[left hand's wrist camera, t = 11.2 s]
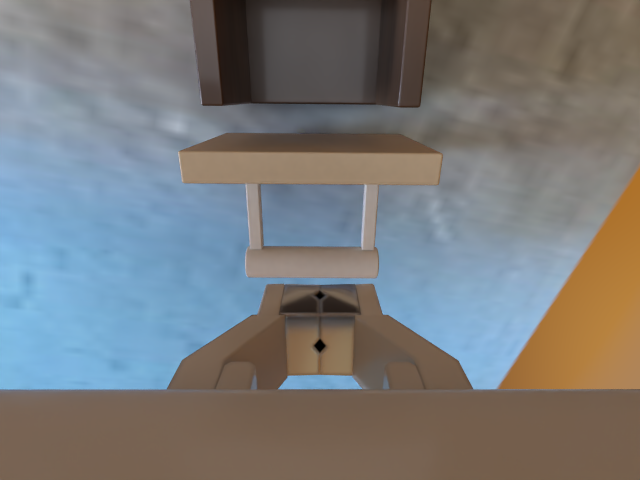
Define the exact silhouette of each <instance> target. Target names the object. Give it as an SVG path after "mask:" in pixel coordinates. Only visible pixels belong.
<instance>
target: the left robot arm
mask: <svg viewBox="0 0 640 480" xmlns="http://www.w3.org/2000/svg"><path fill="white" fill-rule="evenodd" d="M290 375H350V376H353V378H354V379H355V381H356V382H357V383H358V384H359V385H360V387H361V388H362V389H278V388H279V387H280V386H281V384H282V383H283V382H284V381H285V380H286V378H287V376H290ZM0 480H640V389H473V388H472V386H471V384H470V382H469V380H468V378H467V376H466V374H465V372H464V371H463V369H462V367H461V365H460V363H459V361H458V360H457V359H455V358H453V357H452V356H450V355H449V354H447V353H446V352H444V351H443V350H441V349H440V348H438V347H437V346H435V345H433V344H432V343H430V342H429V341H427V340H426V339H424V338H423V337H421V336H420V335H418V334H417V333H415V332H413V331H412V330H410V329H409V328H407V327H406V326H404V325H403V324H401V323H400V322H398V321H396V320H395V319H393V318H392V317H390V316H389V315H383V314H382V310H381V307H380V304H379V300H378V297H377V294H376V290H375V287H374V285H373V284H339V285H302V284H267V285H266V286H265V290H264V293H263V297H262V300H261V304H260V307H259V310H258V314H257V315H251V316H250V317H248V318H247V319H245V320H243V321H242V322H240V323H239V324H237V325H236V326H234V327H233V328H231V329H230V330H228V331H226V332H225V333H223V334H222V335H220V336H219V337H217V338H216V339H214V340H213V341H211V342H209V343H208V344H206V345H205V346H203V347H202V348H200V349H199V350H197V351H196V352H194V353H192V354H191V355H189V356H188V357H186V358H185V359H183V360H182V361H181V363H180V365H179V367H178V369H177V371H176V373H175V375H174V376H173V378H172V380H171V382H170V384H169V386H168V388H167V389H0Z"/></svg>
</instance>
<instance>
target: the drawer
mask: <svg viewBox="0 0 640 480" xmlns="http://www.w3.org/2000/svg"><path fill="white" fill-rule="evenodd" d="M190 6H191V15H192V24H193V34H194V43H195V52H196V61H197V70H198V79H199V88H200V98H201V104H202V105H203V106H225V105H237V104H249V103H267V104H377V105H385V106H393V107H420V103H421V94H422V85H423V75H424V66H425V57H426V47H427V38H428V28H429V19H430V10H431V0H190ZM178 155H179V162H180V169H181V176H182V182H183V183H217V184H246V198H247V212H248V226H249V240H250V246H249V247H248V248H247V250H246V256H245V270H246V275H247V277H261V278H377V276H378V270H379V256H378V250H377V248H376V247H374V246H375V232H376V218H377V204H378V190H379V185H438V184H439V180H440V172H441V165H442V158H443V154H442V153H440V152H438V151H435V150H433V149H431V148H429V147H427V146H425V145H422V144H420V143H418V142H416V141H414V140H411V139H409V138H407V137H405V136H403V135H401V134H289V133H225V134H223V135H220V136H218V137H215V138H212V139H210V140H207V141H205V142H202V143H199V144H197V145H194V146H191V147H189V148H186V149H184V150H181V151H179V152H178ZM260 184H342V185H364V200H363V218H362V236H361V247H300V246H263V245H264V240H263V222H262V204H261V186H260Z"/></svg>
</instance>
